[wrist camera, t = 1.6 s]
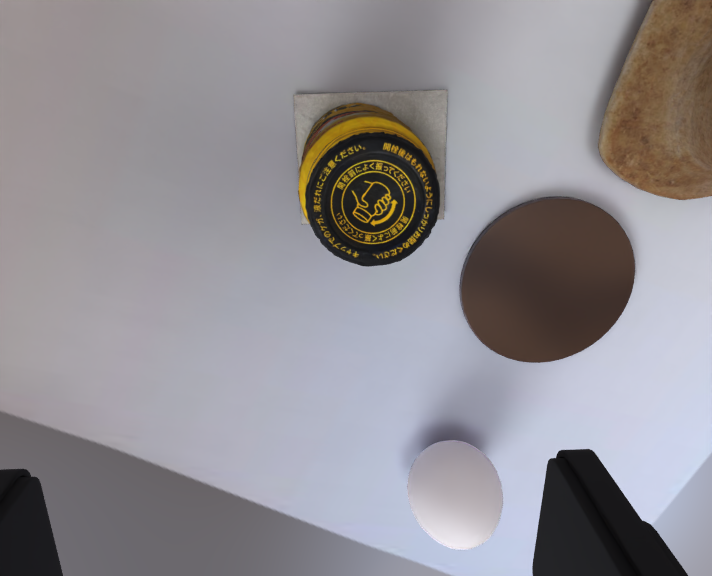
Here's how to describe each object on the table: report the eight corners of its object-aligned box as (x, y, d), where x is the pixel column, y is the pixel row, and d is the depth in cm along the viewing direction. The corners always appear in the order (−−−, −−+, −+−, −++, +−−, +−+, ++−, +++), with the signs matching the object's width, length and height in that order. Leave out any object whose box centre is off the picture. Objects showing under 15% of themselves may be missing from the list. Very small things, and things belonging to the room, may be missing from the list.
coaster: (464, 199, 35) (466, 201, 34) (644, 194, 35) (649, 196, 35) (455, 362, 39) (457, 366, 38) (617, 355, 39) (621, 359, 39)
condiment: (293, 94, 32) (279, 113, 21) (446, 89, 32) (514, 105, 21) (301, 223, 34) (292, 302, 23) (443, 217, 35) (501, 292, 24)
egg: (438, 405, 40) (464, 480, 33) (503, 447, 41) (541, 527, 34) (383, 464, 41) (396, 548, 34) (447, 503, 43) (473, 591, 36)
